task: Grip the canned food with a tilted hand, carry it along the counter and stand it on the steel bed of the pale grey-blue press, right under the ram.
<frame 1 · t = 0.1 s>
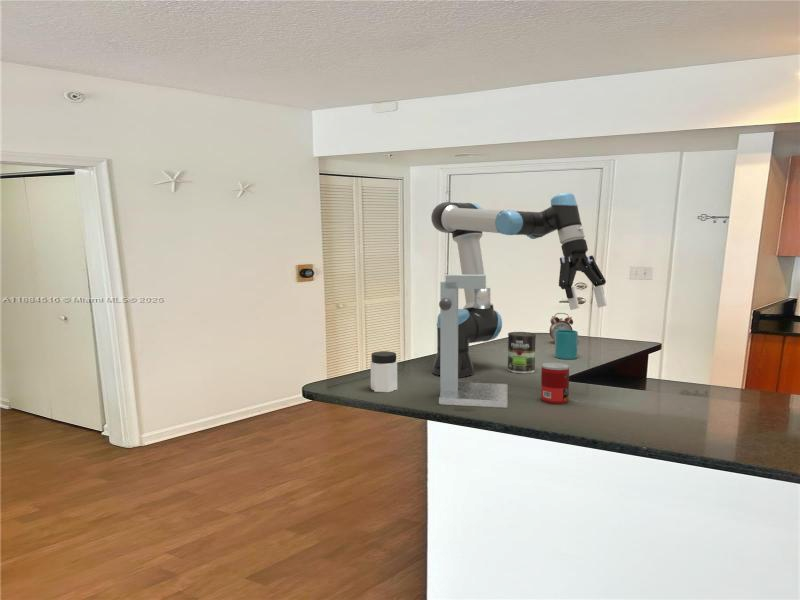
hand: (588, 307, 165), 28 cm above the table, tool tilted 20°, fingers open, 13 cm apart
jar: (384, 389, 178), on the table
cup: (568, 357, 229), on the table
press: (474, 396, 168), on the table
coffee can: (521, 371, 204), on the table
alarm clock: (560, 344, 261), on the table
canned food: (554, 401, 163), on the table
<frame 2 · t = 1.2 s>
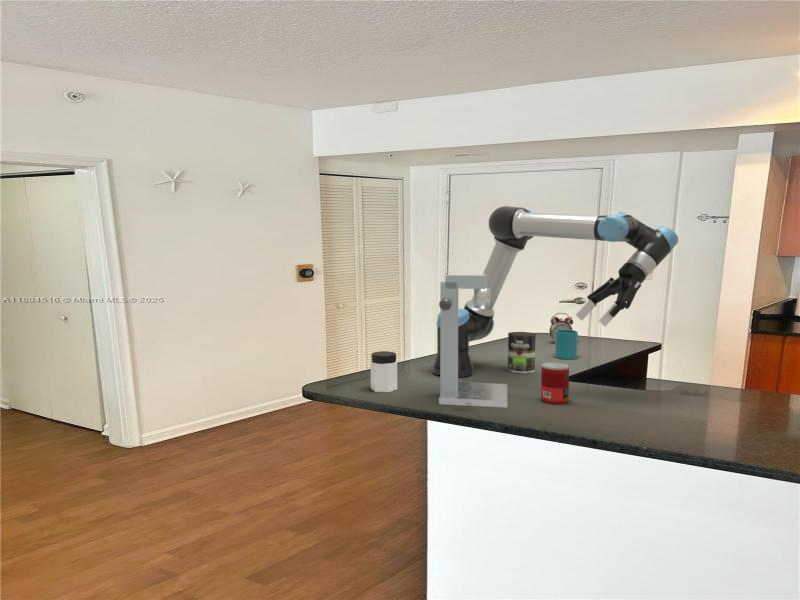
hand: (589, 320, 163), 24 cm above the table, tool tilted 45°, fingers open, 13 cm apart
nothing on the table moved.
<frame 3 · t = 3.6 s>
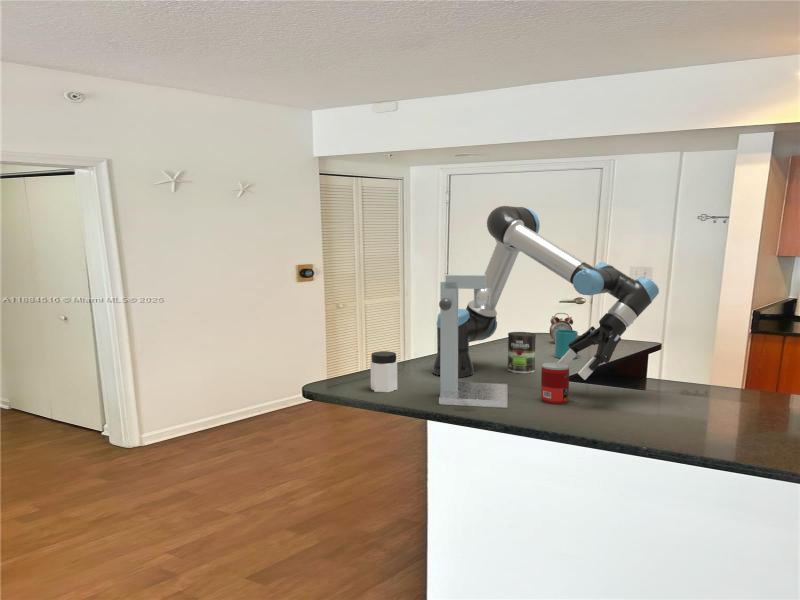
hand: (569, 371, 162), 9 cm above the table, tool tilted 45°, fingers open, 13 cm apart
nothing on the table moved.
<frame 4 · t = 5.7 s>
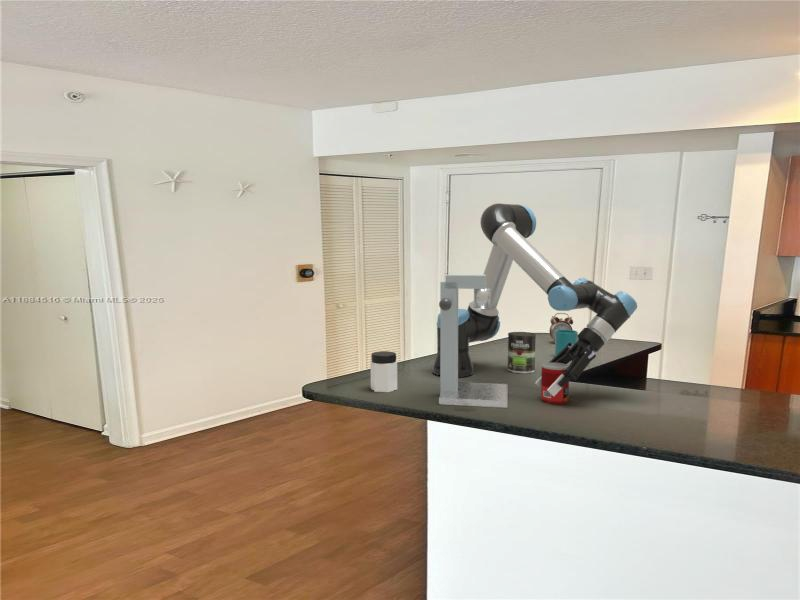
hand: (544, 389, 163), 4 cm above the table, tool tilted 45°, fingers closed on canned food, 8 cm apart
canned food: (554, 401, 163), on the table, touching gripper
everything else where it was.
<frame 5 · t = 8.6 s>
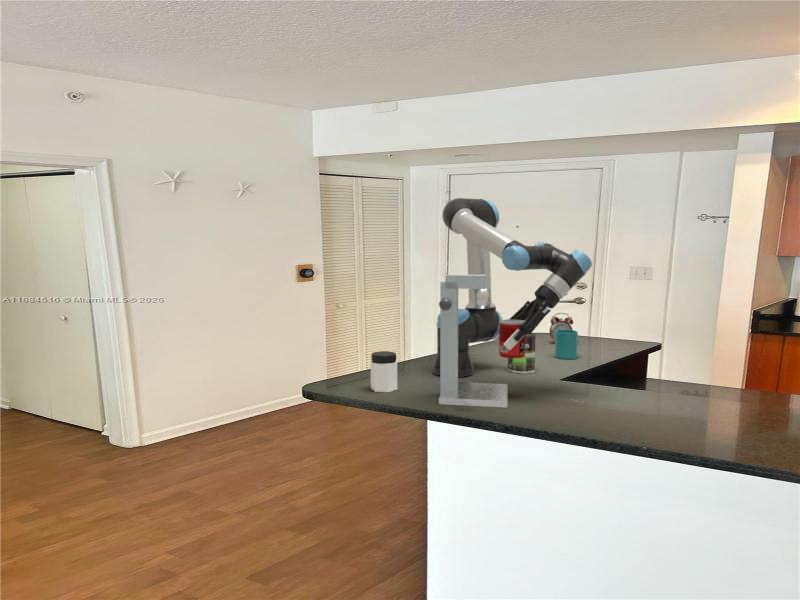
hand: (501, 344, 167), 16 cm above the table, tool tilted 45°, fingers closed on canned food, 8 cm apart
canned food: (512, 356, 168), point 12 cm above the table, touching gripper
everything else where it was.
when the fingers open (7 cm above the table, at t = 11.4 s): canned food drops 1 cm, resting on press.
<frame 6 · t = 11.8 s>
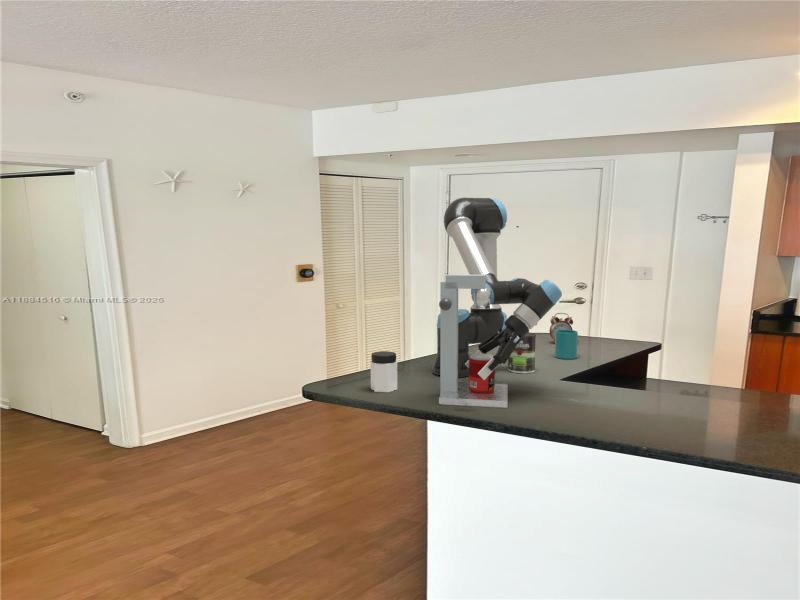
hand: (474, 372, 167), 8 cm above the table, tool tilted 45°, fingers open, 13 cm apart
canned food: (481, 391, 168), point 2 cm above the table, touching press
everything else where it was.
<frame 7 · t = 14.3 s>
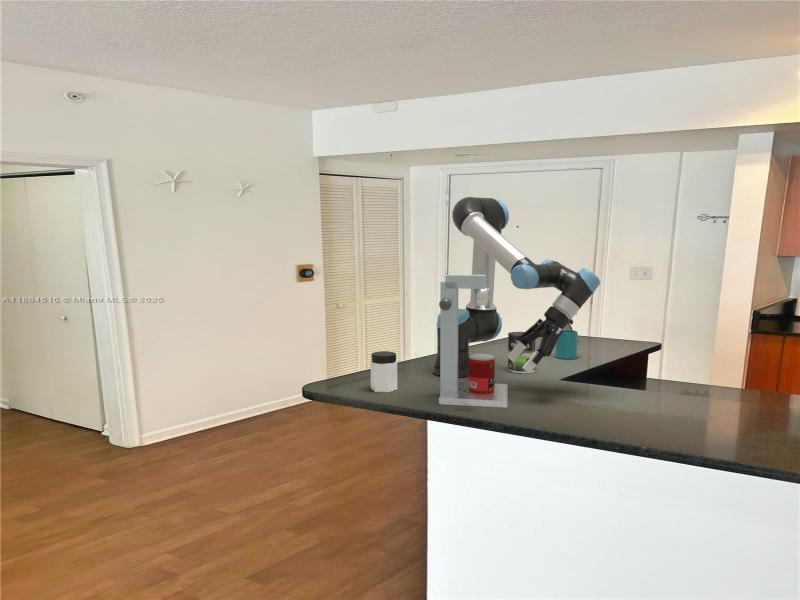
hand: (517, 365, 169), 10 cm above the table, tool tilted 40°, fingers open, 13 cm apart
nothing on the table moved.
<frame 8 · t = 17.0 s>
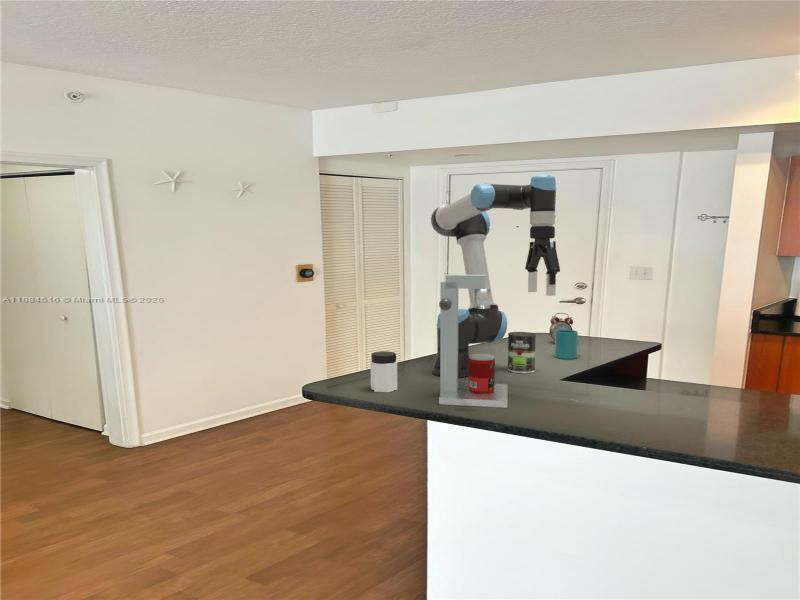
hand: (541, 293, 170), 32 cm above the table, tool pointing down, fingers open, 13 cm apart
nothing on the table moved.
at the end: canned food inside the target area (0.2 cm from its centre), point 1.8 cm above the table; canned food tilted 0°; the gripper is holding nothing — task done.
